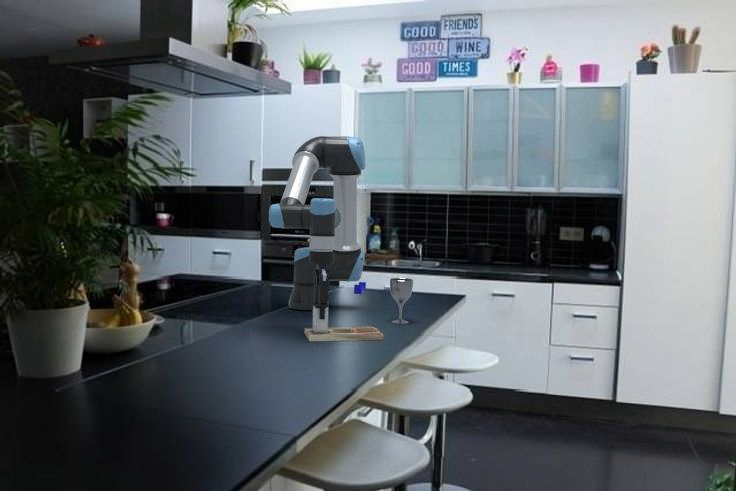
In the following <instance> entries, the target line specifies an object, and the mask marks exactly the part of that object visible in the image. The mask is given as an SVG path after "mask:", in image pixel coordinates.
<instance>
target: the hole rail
mask: <svg viewBox="0 0 736 491" xmlns="http://www.w3.org/2000/svg"><path fill="white" fill-rule="evenodd" d="M312 330H313V327H304V335H305V336H306V338H307V340H308V342H343V341H344V342H348V341H350V342H351V341H354V342H355V341H384V334H383V332H381V331H380V330H379V329H378V328H377V327H374V326H350V327H348V326H347V327H345V326H344V327H328V333H320V334H312Z"/></svg>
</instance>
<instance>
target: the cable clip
mask: <svg viewBox="0 0 736 491" xmlns="http://www.w3.org/2000/svg"><path fill="white" fill-rule="evenodd" d="M365 291H367V282H366V281H358V284H354V285H353V294H354V295H362V294H363V292H365Z"/></svg>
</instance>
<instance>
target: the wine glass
mask: <svg viewBox="0 0 736 491" xmlns="http://www.w3.org/2000/svg"><path fill="white" fill-rule="evenodd" d="M413 286H414V279H413V278H408V277H406V278H403V277H391V278H389V288H390V291H389V292H390V295H391V297H393V299H394V301H395V302H396V304H397V305H398V310H399V311H398V313H399V314H398V315H399V317H398V319H396V320H391V323H393V324H397V325H404V324H408V323H409V321H407V320H404V319H403V318H402V316H403V315H402V314H403V307H404V305H405V303H406V302H407V301H408V299H409V298H410V297H411V296H412V292H413V288H414V287H413Z"/></svg>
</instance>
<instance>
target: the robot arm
mask: <svg viewBox="0 0 736 491" xmlns="http://www.w3.org/2000/svg"><path fill="white" fill-rule="evenodd" d="M291 164H292V168H291V171H290V174H289V177H288V180H287V183H286V185H285V188H284V192H283V194H282V197H281V200H280V202H279V203H275V204H271V205H270V207H269V209H268V210H269V211H268V222H269V225H270V226H271V227H272V228H279V229H298V230H299V229H305V230H309V238H307V242H308V243H309V247H308V246H307V247H301V248H297V249H296V250H294V260H293V287H292V292H291V293H290V297H289V300H288V308H289V309H293V310H299V311H313V306H315V308H317V330H326V308H327V307H328V308H329V282H330V281H331V282H348V283H349V282H360V280H361V278H362V274H363V270H364V263H365V257H366V253H365V251H364V250H362V248H361V247H362V246H361V245H360V244H359V243H358V235H357V234H358V226H357V225H358V178H359V177H360V176H361V175H362V171H364V170H365V169H366V153H365V147H364V143H363V140H362V139H361V137H357V136H350V135H348V136H342V135H341V136H333V135H332V136H331V135H330V136H324V135H322V136H321V135H319V136H315V137H312V138H310V139H308V140H307V141H305V142H304V143H302V144H301V145H300V146H299V147H298V148H297V150H296V151H295V152H294V154H293V157H292V160H291ZM320 169H324V170H329V171H328V172H329V173H328V174H329V176H330V177H331V178H332V180H333V198H318V197H317V198H312V199H311V200H310V204H305V203H306V200H307V197H308V193H309V190H310V187H311V184H312V180H313V178H314V174H316V173H317V172H318V170H320Z"/></svg>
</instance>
